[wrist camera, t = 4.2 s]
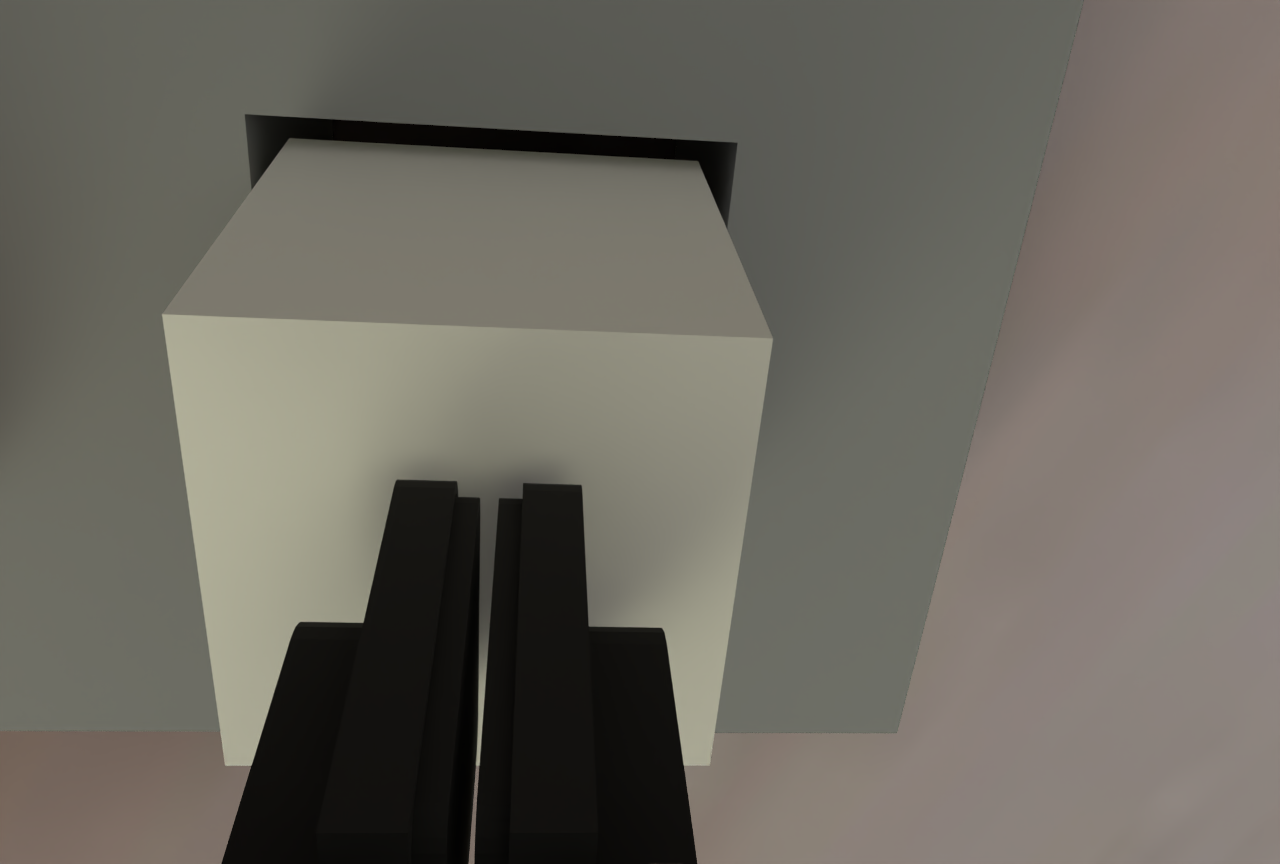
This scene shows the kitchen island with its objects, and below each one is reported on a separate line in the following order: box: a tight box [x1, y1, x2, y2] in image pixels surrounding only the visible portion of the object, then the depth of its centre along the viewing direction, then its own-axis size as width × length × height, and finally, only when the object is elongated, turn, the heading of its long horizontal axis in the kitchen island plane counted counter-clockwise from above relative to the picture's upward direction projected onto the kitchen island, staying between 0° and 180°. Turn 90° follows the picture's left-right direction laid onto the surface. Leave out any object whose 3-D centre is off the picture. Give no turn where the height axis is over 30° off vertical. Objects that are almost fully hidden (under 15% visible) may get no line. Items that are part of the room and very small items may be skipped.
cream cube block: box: [162, 138, 773, 766], centre depth 13 cm, size 5×5×6 cm
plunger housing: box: [0, 0, 1084, 733], centre depth 17 cm, size 14×24×6 cm, turn 85°
